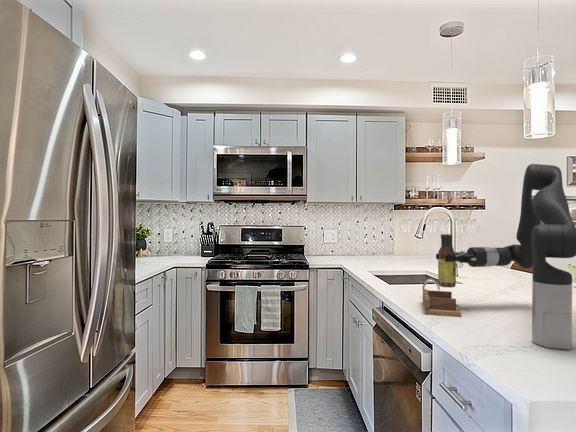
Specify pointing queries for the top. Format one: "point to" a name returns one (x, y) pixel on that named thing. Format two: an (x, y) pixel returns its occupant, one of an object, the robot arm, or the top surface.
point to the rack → (440, 303)
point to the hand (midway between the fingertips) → (440, 257)
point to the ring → (431, 282)
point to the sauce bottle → (446, 263)
